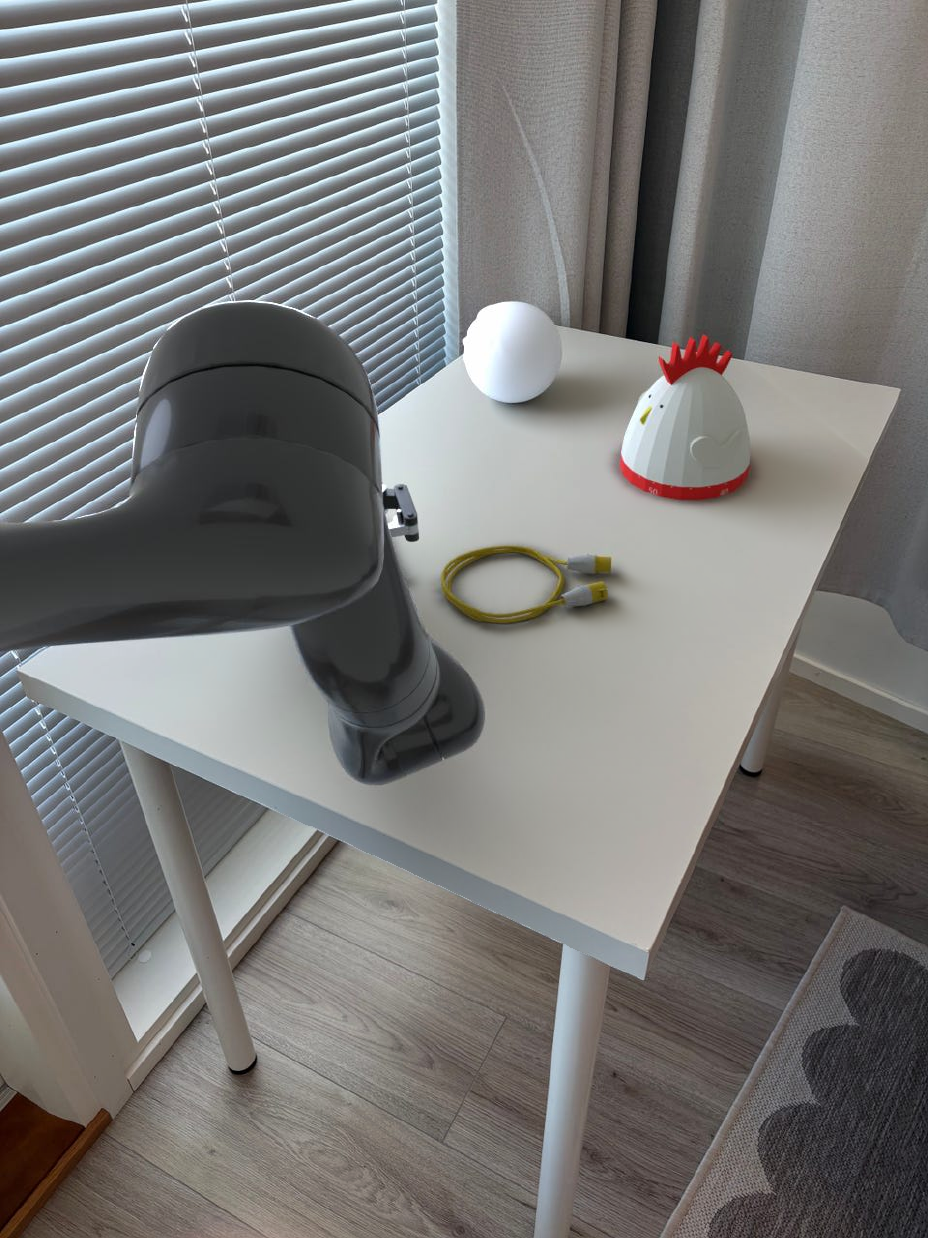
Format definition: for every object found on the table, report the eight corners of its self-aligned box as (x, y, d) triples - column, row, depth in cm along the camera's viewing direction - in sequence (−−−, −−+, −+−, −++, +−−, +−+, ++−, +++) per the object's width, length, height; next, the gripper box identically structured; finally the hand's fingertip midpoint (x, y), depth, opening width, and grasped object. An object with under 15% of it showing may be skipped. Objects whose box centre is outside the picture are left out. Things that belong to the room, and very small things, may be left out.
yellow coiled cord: (580, 650, 82) (581, 633, 81) (420, 606, 88) (418, 589, 87) (625, 573, 90) (627, 556, 89) (476, 537, 96) (475, 520, 95)
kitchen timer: (599, 450, 109) (606, 323, 99) (705, 427, 112) (722, 302, 102) (658, 512, 98) (672, 377, 89) (773, 484, 102) (798, 351, 92)
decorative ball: (475, 374, 126) (472, 284, 118) (566, 379, 123) (568, 288, 116) (457, 417, 117) (452, 322, 109) (554, 422, 114) (556, 326, 107)
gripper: (438, 527, 76) (391, 435, 88) (261, 562, 73) (237, 463, 85) (443, 600, 81) (397, 504, 93) (276, 637, 78) (252, 532, 90)
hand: (321, 484), depth 89 cm, fingers open, 8 cm apart
